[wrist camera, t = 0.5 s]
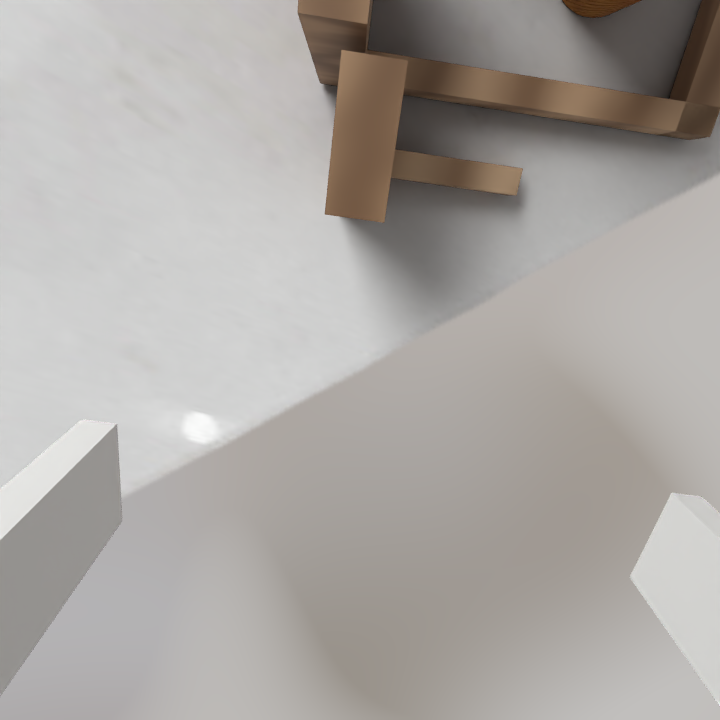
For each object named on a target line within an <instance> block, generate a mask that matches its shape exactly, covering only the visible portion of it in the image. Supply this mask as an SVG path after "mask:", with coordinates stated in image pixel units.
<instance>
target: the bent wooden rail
mask: <svg viewBox="0 0 720 720" xmlns="http://www.w3.org/2000/svg"><path fill="white" fill-rule="evenodd" d="M372 7H373V0H298V15H299V19H300V22H301V25H302V28H303V31H304V34H305V37H306V40H307V44H308V47H309V50H310V53H311V56H312V59H313V62H314V65H315V69H316V72H317V75H318V78H319V81H320V83H322V84H329V85H335V86H338V80H339V70H340V60H341V50H346V51H352V52H358V53H365V54H371V55H377V56H383V57H389V58H395V59H402V60H408V65H407V72H406V79H405V86H404V92H403V95H409V96H415V97H421V98H428V99H434V100H440V101H447V102H453V103H459V104H466V105H472V106H478V107H485V108H491V109H497V110H503V111H510V112H516V113H522V114H529V115H535V116H541V117H548V118H554V119H560V120H567V121H573V122H579V123H586V124H592V125H598V126H605V127H611V128H617V129H624V130H630V131H636V132H643V133H649V134H655V135H662V136H668V137H674V138H681V139H687V140H692V139H699V138H705V137H710V135H711V133H712V130H713V127H714V125H715V122H716V119H717V117H718V114H719V111H720V0H702V2H701V5H700V8H699V11H698V14H697V17H696V20H695V23H694V26H693V29H692V32H691V35H690V38H689V41H688V44H687V47H686V50H685V53H684V56H683V59H682V62H681V65H680V68H679V71H678V74H677V77H676V80H675V83H674V86H673V89H672V92H671V95H670V98H669V99H666V98H660V97H654V96H648V95H642V94H635V93H629V92H623V91H617V90H611V89H605V88H599V87H593V86H586V85H580V84H574V83H568V82H562V81H556V80H550V79H544V78H537V77H531V76H525V75H519V74H513V73H507V72H501V71H494V70H488V69H482V68H476V67H470V66H464V65H458V64H452V63H445V62H439V61H433V60H427V59H421V58H415V57H409V56H402V55H396V54H390V53H384V52H378V51H372V50H367V49H368V40H369V32H370V24H371V15H372Z"/></svg>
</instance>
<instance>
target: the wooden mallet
mask: <svg viewBox="0 0 720 720" xmlns="http://www.w3.org/2000/svg"><path fill="white" fill-rule="evenodd" d="M407 65H408V60H402V59H395V58H389V57H383V56H377V55H371V54H365V53H358V52H352V51H346V50H341V60H340V70H339V80H338V90H337V99H336V109H335V119H334V129H333V139H332V148H331V158H330V168H329V178H328V188H327V197H326V207H325V214H326V215H333V216H340V217H347V218H354V219H362V220H369V221H376V222H383V223H384V221H385V214H386V207H387V201H388V194H389V187H390V180H391V178H394V179H401V180H408V181H414V182H421V183H428V184H435V185H442V186H448V187H455V188H462V189H469V190H476V191H482V192H489V193H496V194H503V195H517V191H518V187H519V183H520V179H521V174H522V170H523V169H522V168H515V167H509V166H502V165H496V164H489V163H482V162H476V161H469V160H462V159H456V158H449V157H443V156H436V155H429V154H423V153H416V152H409V151H403V150H396V149H395V147H396V140H397V133H398V126H399V119H400V113H401V106H402V99H403V92H404V86H405V79H406V72H407Z"/></svg>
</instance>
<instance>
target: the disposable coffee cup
mask: <svg viewBox="0 0 720 720" xmlns="http://www.w3.org/2000/svg"><path fill="white" fill-rule="evenodd" d="M562 1H563V2H564V3H565V5H566V6H567V7H568V8H569V9H571V10H572V11H573V12H575V13H576V14H578V15H581V16H584V17H590V18H596V17H603V16H607V15H610V14H612V13H614V12H616V11H618V10H621V9H623V8H625V7H628V6H630V5H632V4H635V3H637V2H639V1H642V0H562Z"/></svg>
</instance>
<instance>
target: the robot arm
mask: <svg viewBox="0 0 720 720" xmlns="http://www.w3.org/2000/svg"><path fill="white" fill-rule="evenodd" d="M121 522H122V506H121V487H120V469H119V451H118V433H117V424H116V423H108V422H99V421H91V420H83V419H82V420H80V421H79V422H78V423H77V424H76V425H74V426H73V427H72V428H71V429H70V430H69V431H67V432H66V433H65V434H64V435H63V436H62V437H60V438H59V439H58V440H57V441H56V442H55V443H53V444H52V445H51V446H50V447H49V448H48V449H46V450H45V451H44V452H43V453H42V454H40V455H39V456H38V457H37V458H36V459H35V460H33V461H32V462H31V463H30V464H29V465H28V466H26V467H25V468H24V469H23V470H22V471H21V472H19V473H18V474H17V475H16V476H15V477H14V478H12V479H11V480H10V481H9V482H8V483H6V484H5V485H4V486H3V487H2V488H1V489H0V696H1V695H2V693H3V692H4V690H5V689H6V688H7V686H8V685H9V683H10V682H11V680H12V679H13V678H14V676H15V675H16V673H17V672H18V670H19V669H20V667H21V666H22V664H23V663H24V662H25V660H26V659H27V657H28V656H29V655H30V653H31V652H32V650H33V649H34V647H35V646H36V644H37V643H38V642H39V640H40V639H41V637H42V636H43V634H44V633H45V632H46V630H47V629H48V627H49V626H50V624H51V623H52V621H53V620H54V619H55V617H56V616H57V614H58V613H59V611H60V610H61V609H62V607H63V606H64V604H65V603H66V601H67V600H68V598H69V597H70V596H71V594H72V593H73V591H74V590H75V588H76V587H77V585H78V584H79V583H80V581H81V580H82V578H83V577H84V575H85V574H86V573H87V571H88V570H89V568H90V567H91V565H92V564H93V563H94V561H95V560H96V558H97V557H98V555H99V554H100V552H101V551H102V550H103V548H104V547H105V545H106V544H107V542H108V541H109V540H110V538H111V536H112V535H113V534H114V532H115V531H116V530H117V528H118V527H119V525H120V524H121ZM630 579H631V580H632V581H633V583H634V584H635V586H636V587H637V589H638V590H639V591H640V593H641V594H642V596H643V597H644V599H645V600H646V602H647V603H648V604H649V606H650V607H651V609H652V610H653V612H654V613H655V614H656V616H657V617H658V619H659V620H660V622H661V623H662V624H663V626H664V627H665V629H666V630H667V632H668V633H669V634H670V636H671V637H672V639H673V640H674V641H675V643H676V644H677V646H678V647H679V649H680V650H681V651H682V653H683V654H684V656H685V657H686V659H687V660H688V662H689V663H690V665H691V666H692V667H693V668H694V670H695V672H696V673H697V674H698V676H699V677H700V679H701V680H702V682H703V683H704V685H705V686H706V687H707V689H708V690H709V692H710V693H711V695H712V696H713V697H714V699H715V700H716V702H717V703H718V705H719V706H720V513H719V512H718V511H717V510H716V509H715V508H714V507H713V506H712V505H710V504H709V503H708V502H707V501H706V500H705V499H704V498H703V497H701V496H694V495H686V494H678V493H671V495H670V497H669V499H668V501H667V503H666V505H665V507H664V509H663V511H662V513H661V515H660V517H659V519H658V521H657V523H656V525H655V527H654V529H653V532H652V533H651V535H650V537H649V539H648V541H647V543H646V545H645V547H644V550H643V552H642V553H641V556H640V558H639V559H638V562H637V563H636V565H635V568H634V570H633V572H632V574H631V576H630Z"/></svg>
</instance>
